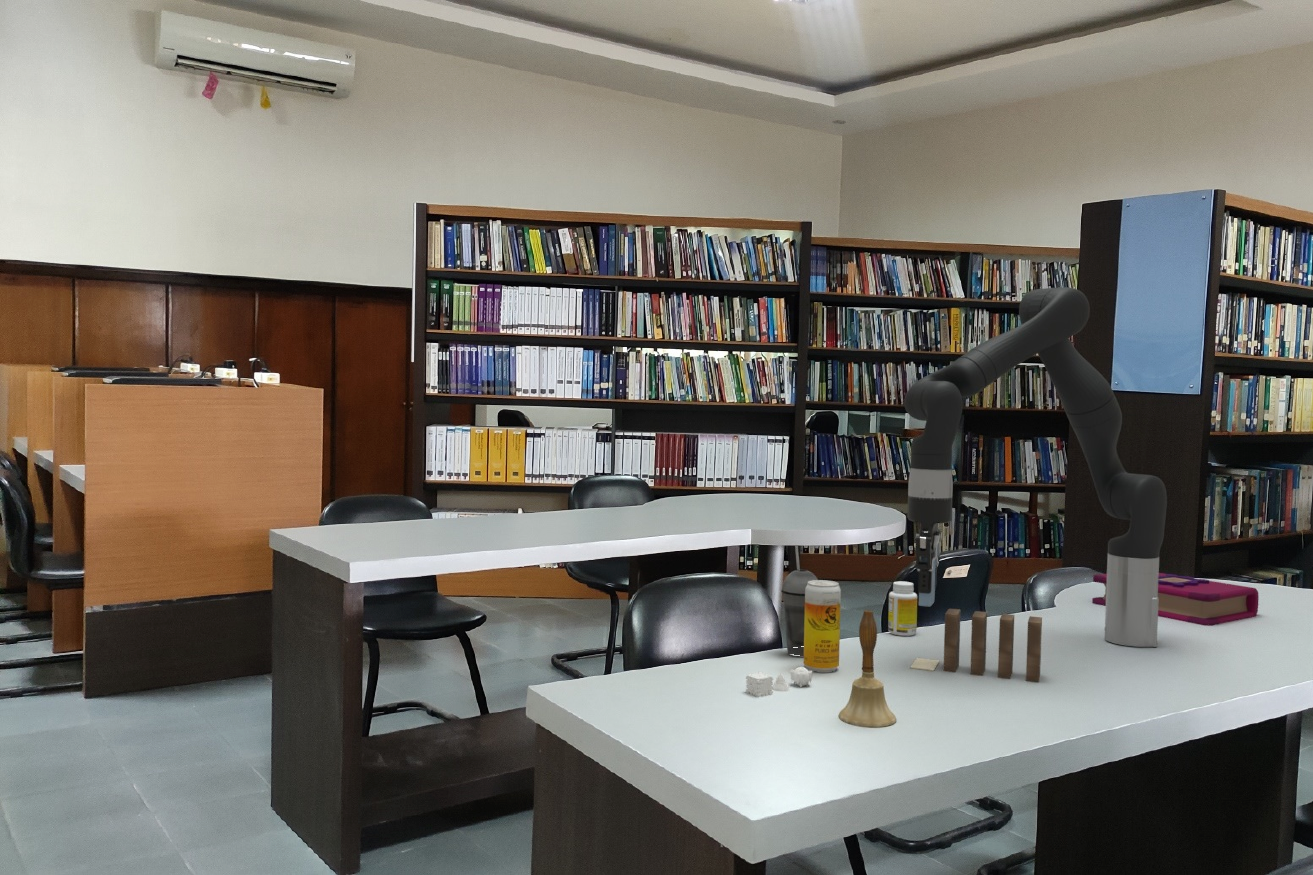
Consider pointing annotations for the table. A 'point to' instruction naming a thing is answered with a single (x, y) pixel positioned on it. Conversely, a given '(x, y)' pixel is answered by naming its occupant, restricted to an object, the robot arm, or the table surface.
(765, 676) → the game pieces
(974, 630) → the domino
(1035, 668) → the domino
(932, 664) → the plate
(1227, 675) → the table surface
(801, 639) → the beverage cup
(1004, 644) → the domino
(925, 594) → the domino
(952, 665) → the domino
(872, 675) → the hand bell
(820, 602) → the beer can
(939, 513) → the robot arm
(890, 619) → the supplement bottle
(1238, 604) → the book
